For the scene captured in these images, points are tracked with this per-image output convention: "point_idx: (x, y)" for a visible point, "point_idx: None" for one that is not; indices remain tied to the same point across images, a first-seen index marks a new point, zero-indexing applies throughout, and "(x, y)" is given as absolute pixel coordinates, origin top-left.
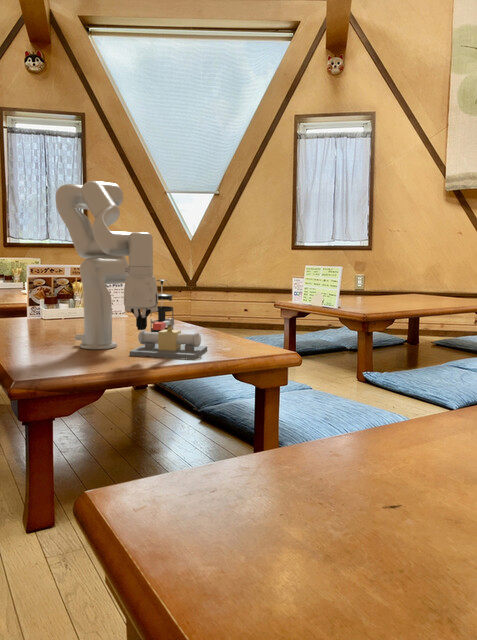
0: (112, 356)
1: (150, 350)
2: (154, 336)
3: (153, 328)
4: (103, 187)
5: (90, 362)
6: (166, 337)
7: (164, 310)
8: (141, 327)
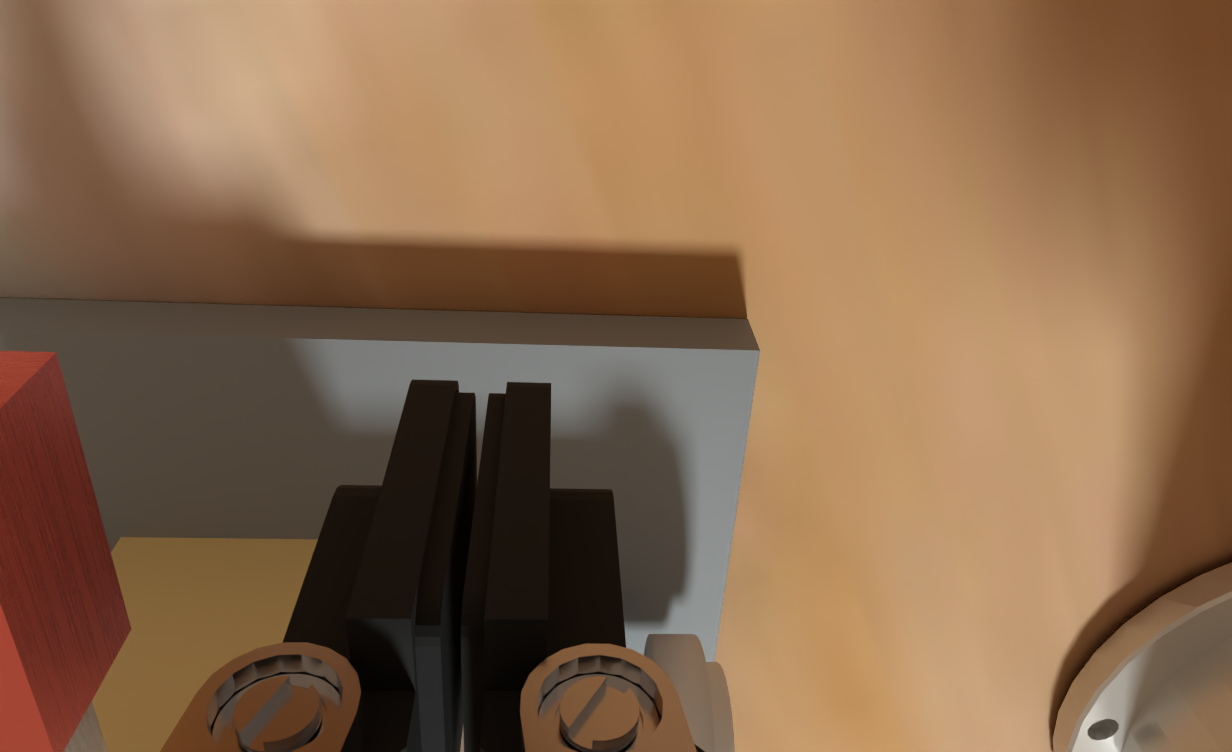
0: (985, 219)
1: None
2: None
3: (15, 373)
4: None
5: None
6: (200, 684)
7: None
8: (422, 411)
